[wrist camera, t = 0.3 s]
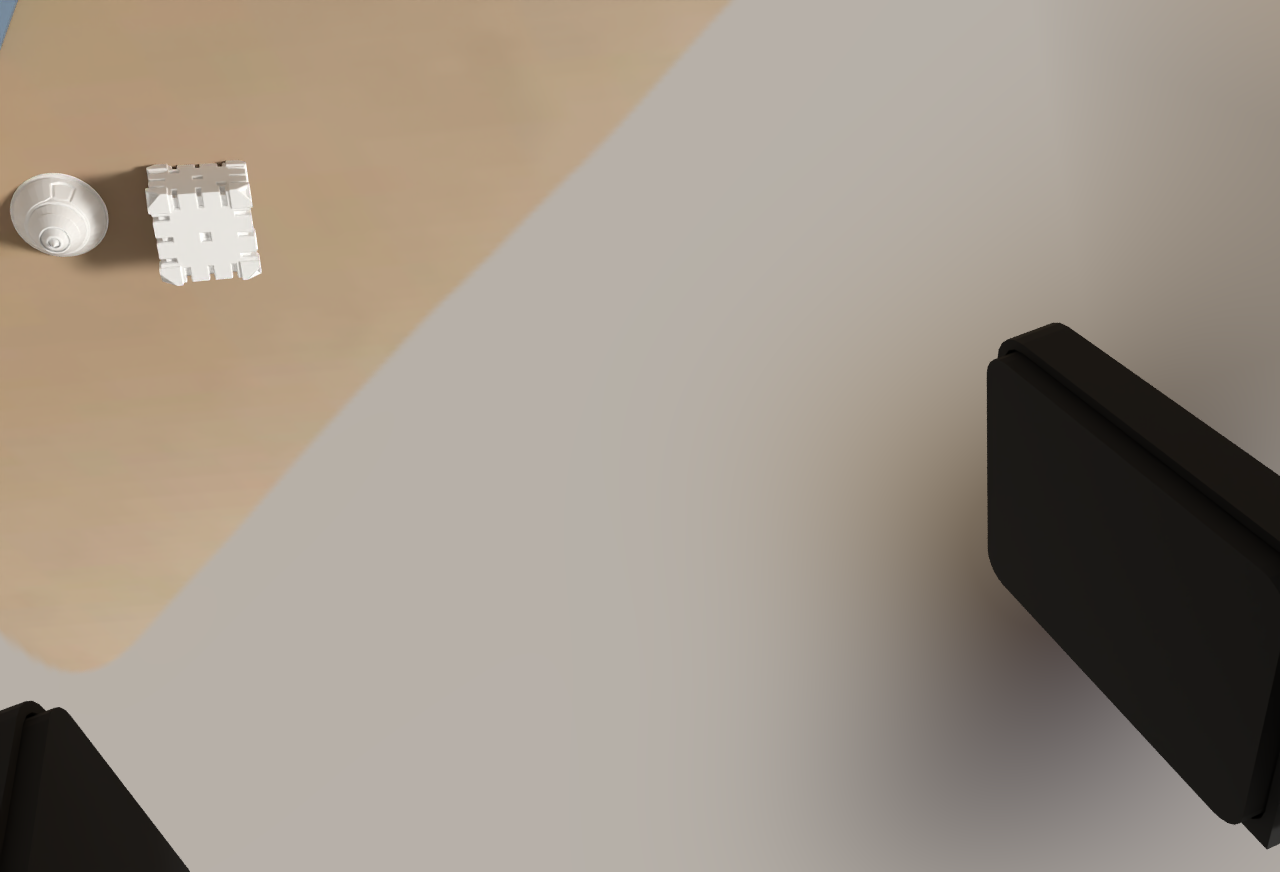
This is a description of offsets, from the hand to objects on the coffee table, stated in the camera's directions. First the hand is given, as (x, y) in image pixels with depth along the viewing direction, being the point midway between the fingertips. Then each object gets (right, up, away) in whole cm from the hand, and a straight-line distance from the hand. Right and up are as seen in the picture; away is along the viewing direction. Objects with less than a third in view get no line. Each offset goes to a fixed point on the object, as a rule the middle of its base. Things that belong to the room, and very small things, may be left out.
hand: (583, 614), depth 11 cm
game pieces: (-19, +9, +26) cm, 33 cm away
